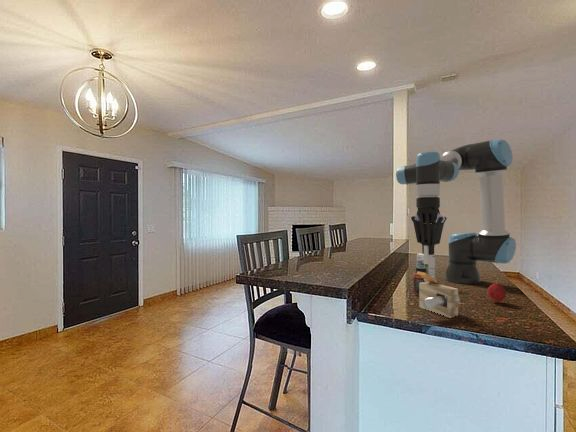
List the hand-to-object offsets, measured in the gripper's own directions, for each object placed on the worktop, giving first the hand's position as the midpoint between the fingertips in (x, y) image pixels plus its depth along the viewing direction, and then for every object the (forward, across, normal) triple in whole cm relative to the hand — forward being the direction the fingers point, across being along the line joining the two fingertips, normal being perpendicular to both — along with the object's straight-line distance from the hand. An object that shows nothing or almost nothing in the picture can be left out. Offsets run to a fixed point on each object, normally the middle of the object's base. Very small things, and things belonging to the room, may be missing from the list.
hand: (428, 263), depth 107 cm
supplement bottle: (+16, +14, -13) cm, 25 cm away
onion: (+16, -7, -28) cm, 33 cm away
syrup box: (+16, +24, -28) cm, 40 cm away
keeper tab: (+5, 0, 0) cm, 6 cm away
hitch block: (+16, -3, -1) cm, 17 cm away
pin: (+14, -6, +2) cm, 15 cm away
